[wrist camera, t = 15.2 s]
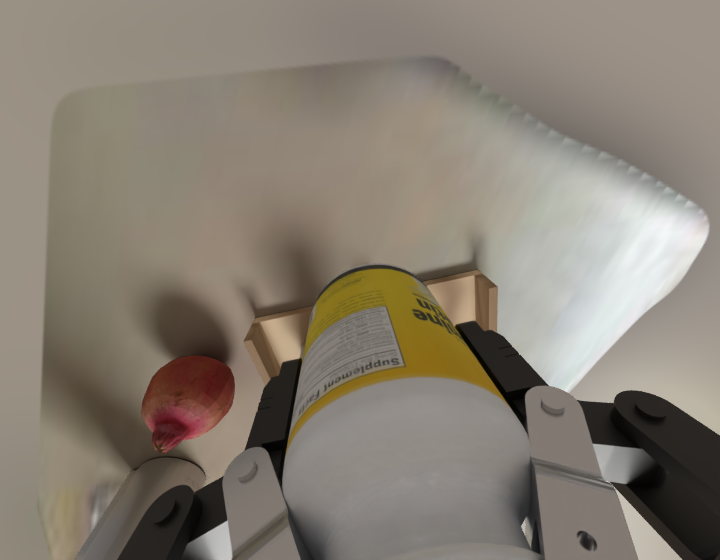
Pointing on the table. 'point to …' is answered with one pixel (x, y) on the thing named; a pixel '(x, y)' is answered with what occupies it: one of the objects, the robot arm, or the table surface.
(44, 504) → the table surface
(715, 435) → the robot arm
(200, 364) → the fruit
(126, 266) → the table surface
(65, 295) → the table surface
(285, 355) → the divided wooden tray
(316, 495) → the pill bottle
